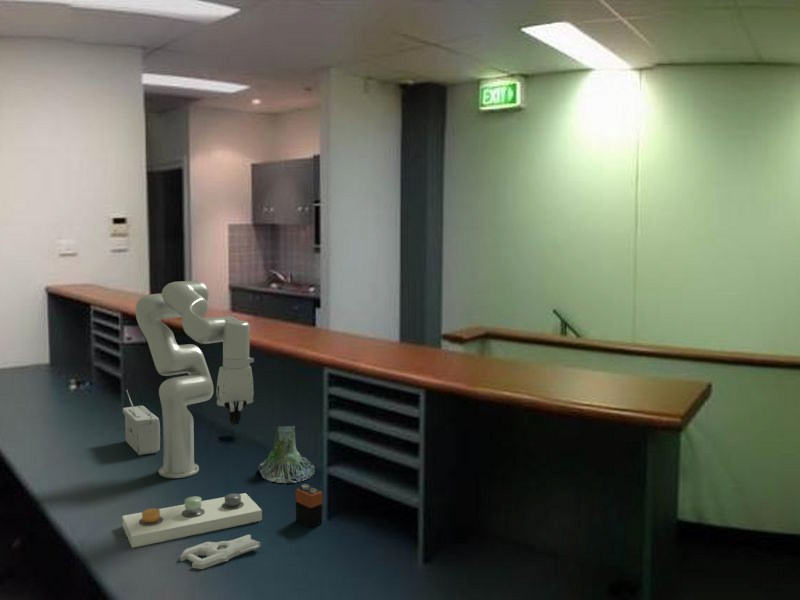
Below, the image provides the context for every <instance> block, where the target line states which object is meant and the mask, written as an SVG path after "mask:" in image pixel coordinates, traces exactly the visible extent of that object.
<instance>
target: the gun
mask: <svg viewBox="0 0 800 600" xmlns="http://www.w3.org/2000/svg"><path fill="white" fill-rule="evenodd" d="M260 547H261V541H257V540H255V539H252V535H251V534H246V535H243V536H241V537H238V538H237V537H236V538H235V539H230V540H221V541H217V542H216V541H205V542H203V543H199V544H196V545H194V546H192V547H187V548H186V549H183V552H182V553H181V554H180V556H179V558H180V559H179V560H180V561H179V562H184V561H186V560H188V561H189V562H192V563H191V566H192V568H193V569H197V570H203V569H204V570H205V569H207V568H210V567H213V566H215V565H218V564H222V563H224V562H228V561H229V560H231V559H233V558H235V557H237V556H238V557H239V556H240V555H243V554H246V553H249V552H251V551H255V550H257V549H259V548H260ZM199 556H200V557H199ZM201 556H205V557H203V558H201Z"/></svg>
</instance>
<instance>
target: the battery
mask: <svg viewBox="0 0 800 600" xmlns="http://www.w3.org/2000/svg"><path fill="white" fill-rule="evenodd" d="M295 520H296V522H299V523H301V524H303V525H304V526H306V527H308V528H312V527H315V526H318V525H320V524H322V523H323V492H322V491H321V490H318V489H316V488H314V487H312V486H310V485H309V484H307V483H304V484H301V487H298V488H296V489H295Z"/></svg>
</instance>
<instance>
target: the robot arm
mask: <svg viewBox="0 0 800 600" xmlns="http://www.w3.org/2000/svg"><path fill="white" fill-rule="evenodd" d="M209 293H210V292H209V290H208V287H207V286H206V284H205V283H204V282H201V281H199V280H185V281H184V280H183V281H173V282H169V283H167V284H166V285H164V287H163V288H162V291H161V293H153V294H152V293H151V294H148V295H144V296H141V297H140V298H139V299H138V300H137V302H136V304H135V317H136V318H135V319H136V321H137V324H138V326H139V328H140V330H141V332H142V334H143V335H144V336H145V339H146V341H147V344H148V348H149V351H150V353H151V357H152V361H153V362H154V367H155V369H156V371H157V373H158V375H161V376H163V377H166V376H167V377H168V376H174V377H171V378H168V379H166V380H164V381H163V382H161V384H160V386H159V389H158V396H159V400H160V404H161V405H160V406H161V410H162V411H161V412H162V432H163V433H162V436H163V437H162V438H163V439H162V443H163V444H162V446H163V450H162V451H163V465H162V466H161V467H160V468H159V469H158V475H160V476H161V477H162V478H163V477H164V478H167V479H181V478H187V477H191V476H193V475H195V474H197V473H198V472H199V471H200V467H199V465H198V464H197V463H195V440H194V439H195V436H194V435H195V432H194V429H195V428H194V425H195V424H194V423H195V422H194V417H193V414H192V413H191V411H190V410H189V409H188V408H187V407H188V406H189V405H194V404H198V403H203V402H206V401H209V400H210V399H211V398H212V396H213V395H214V384H213V380H212V376H211V374H210V370H209V367H208V364H207V362H206V361H207V360H206V359H205V356H204V353H203V351H202V350H201V349H200V348H199V346H197V345H196V344H190V343H188V344H178V343H177V341H176V338H175V335H174V332H173V330H172V329H171V328H170V327H168V325H166V324H165V323H164V322H162V320H164V319H166V320H167V319H175V318H176V319H177V318H178V319H179V318H181V325H182V328H183V331H184V333H185V334H186V335H187V336H188V337H189V338H191V339H192V340H193V341H195V342H197V343H198V344H201V345H203V344H204V345H207V344H214V343H216V344H217V343H222V366H220V367H219V369H218V375H217V381H216V391H215V395H216V398H217V399H216V405H217V406H219V407H225V408H226V409H228V410H229V411H228V420H229V421H228V422H230V423H231V424H232V425H233V426H234V425H239V424H240V421H241V415H242V412H241V411H243V408H244V407H245V406H246V405H249V404H251V403H253V402H254V376H253V371H252V366H251V363H254V362H255V359H254V357H251V356H250V346H251V345H250V342H251V341H250V340H251V338H250V336H251V326H250V323H249V322H248V321H245V320H240V319H238V318H236V317H235V316H232V315H225V316H213V317H206V315H207V313H208V310H209V303H208V300H209V298H210V297H209V296H210V295H209ZM205 317H206V318H205ZM181 374H182V375H181ZM183 374H188V375H183ZM175 375H181V376H175ZM234 402H235V405H234Z"/></svg>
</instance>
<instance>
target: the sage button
mask: <svg viewBox="0 0 800 600" xmlns="http://www.w3.org/2000/svg"><path fill="white" fill-rule="evenodd" d="M201 501H202V497H200V496H197V495H196V496H189V497H185V499H184V504H185V509H187V510H195V509H199V508H200V507H201V506H202V504H201Z"/></svg>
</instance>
